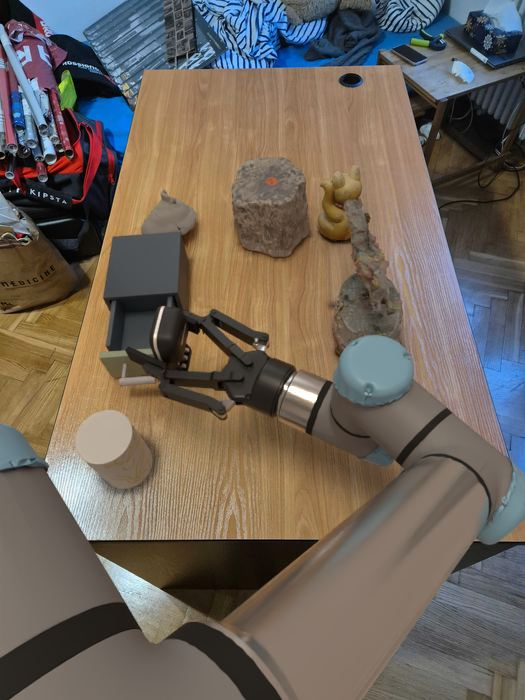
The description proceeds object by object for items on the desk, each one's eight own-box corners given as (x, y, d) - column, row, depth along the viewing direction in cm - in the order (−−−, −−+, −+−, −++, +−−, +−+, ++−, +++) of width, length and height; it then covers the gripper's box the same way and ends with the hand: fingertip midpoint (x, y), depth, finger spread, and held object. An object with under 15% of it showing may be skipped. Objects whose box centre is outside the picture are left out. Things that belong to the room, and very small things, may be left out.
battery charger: (190, 386, 70) (175, 344, 60) (165, 384, 70) (146, 342, 60) (198, 346, 74) (184, 301, 64) (174, 345, 74) (157, 300, 64)
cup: (130, 498, 73) (105, 475, 63) (92, 472, 76) (62, 445, 66) (162, 455, 77) (143, 426, 67) (125, 432, 79) (101, 400, 69)
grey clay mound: (156, 223, 110) (149, 178, 103) (205, 227, 109) (201, 182, 102) (137, 248, 101) (128, 201, 94) (190, 253, 100) (185, 206, 93)
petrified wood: (240, 197, 110) (234, 138, 97) (314, 202, 108) (317, 143, 95) (224, 255, 100) (215, 199, 87) (305, 262, 98) (308, 205, 85)
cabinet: (186, 320, 91) (177, 292, 84) (117, 325, 91) (102, 298, 84) (188, 261, 100) (180, 231, 92) (125, 266, 100) (112, 236, 93)
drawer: (179, 393, 82) (171, 374, 76) (109, 398, 82) (95, 380, 76) (183, 308, 92) (176, 286, 86) (120, 313, 92) (109, 291, 86)
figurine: (329, 279, 95) (341, 175, 74) (393, 280, 94) (424, 175, 73) (331, 365, 84) (345, 272, 63) (403, 367, 84) (443, 273, 62)
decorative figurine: (345, 212, 105) (353, 153, 93) (369, 233, 102) (381, 175, 89) (311, 231, 103) (314, 172, 90) (335, 253, 99) (342, 195, 86)
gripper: (253, 469, 60) (111, 399, 67) (316, 350, 69) (186, 299, 76) (249, 449, 54) (93, 374, 60) (319, 320, 63) (177, 267, 70)
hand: (145, 332), depth 68 cm, fingers closed on battery charger, 7 cm apart
